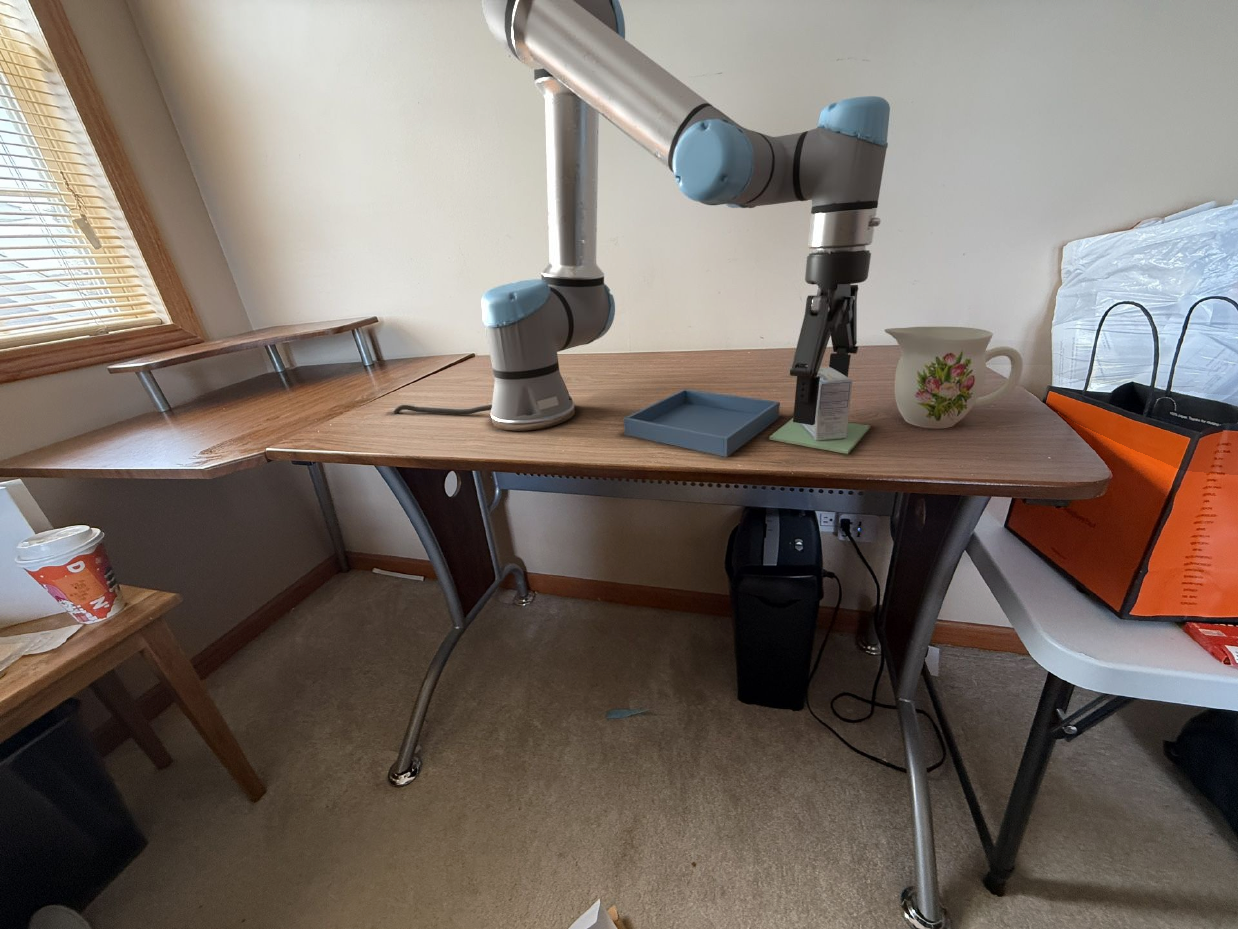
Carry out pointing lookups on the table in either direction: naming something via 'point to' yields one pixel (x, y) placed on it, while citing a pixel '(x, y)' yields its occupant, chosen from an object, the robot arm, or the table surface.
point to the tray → (703, 421)
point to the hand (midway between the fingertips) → (820, 408)
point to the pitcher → (946, 373)
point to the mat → (800, 436)
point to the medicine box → (831, 406)
